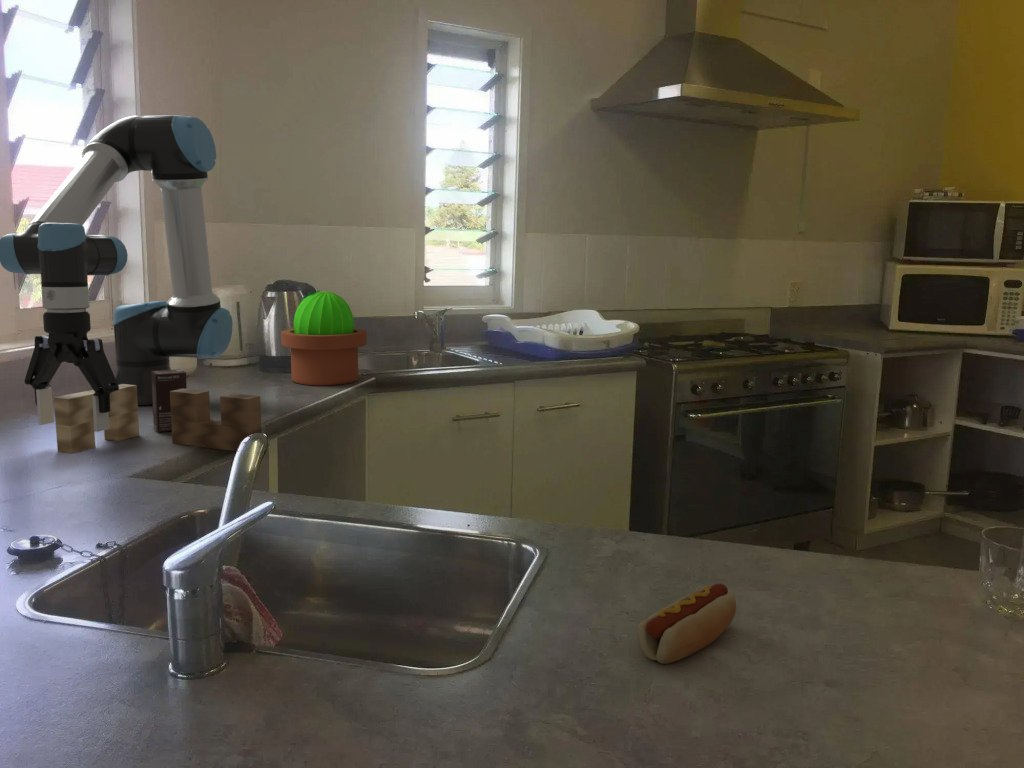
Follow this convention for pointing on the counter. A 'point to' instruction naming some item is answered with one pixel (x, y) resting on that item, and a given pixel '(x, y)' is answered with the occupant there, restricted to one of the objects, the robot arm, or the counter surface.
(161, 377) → the box
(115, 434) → the arched wooden block
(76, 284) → the robot arm
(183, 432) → the notched wooden block
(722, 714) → the counter surface
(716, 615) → the food
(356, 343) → the potted cactus
